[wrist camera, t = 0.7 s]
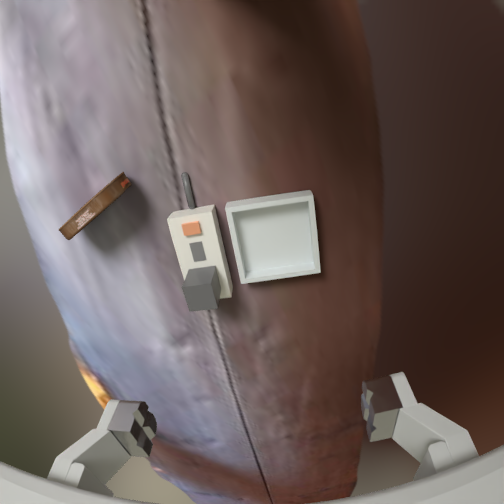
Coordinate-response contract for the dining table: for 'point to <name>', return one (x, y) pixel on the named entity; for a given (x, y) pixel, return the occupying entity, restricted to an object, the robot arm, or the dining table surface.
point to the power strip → (199, 240)
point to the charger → (202, 288)
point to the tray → (274, 236)
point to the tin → (95, 206)
